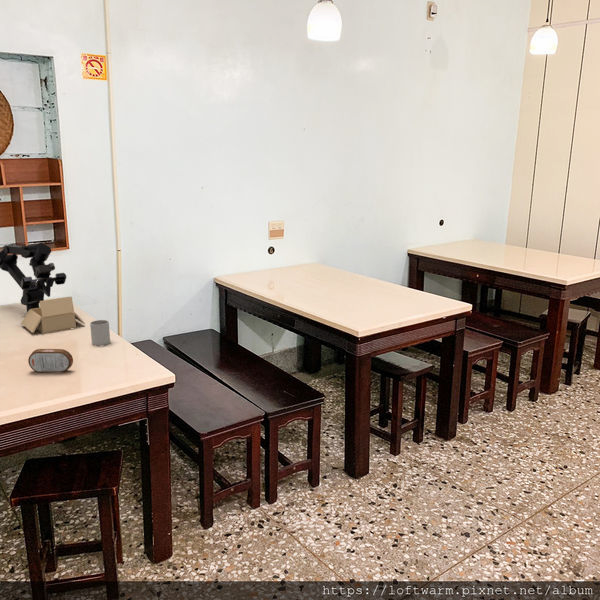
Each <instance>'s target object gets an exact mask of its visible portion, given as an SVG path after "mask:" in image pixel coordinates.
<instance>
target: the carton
mask: <svg viewBox="0 0 600 600" xmlns="http://www.w3.org/2000/svg"><path fill="white" fill-rule="evenodd" d="M76 320H77V321H78V322H80V323H81V324H84V325H85V324H86V323H85V322H84V320H83V319H82V318H81V317H80V316H79V315H78V314H77V313H76V312H75V311H74V312H72V313H66V314H60V315H53V316H47V317H42V313H41V307H40V308H34V309H30V310H29V311H28V312H27V311H26V316H25V315H24V317H23V319H22V320H21V325H23V327H25V328H26V329H27V330H29V331H30V333H33V334H34V333H35V331H36V330H38V331H39V332H40V333H42V334H43V335H46V334H49V333H50V334H51V333H56V331H57V332H62V331H61V330H63V331H67V329H69V330H72V329H71V328H74V329H77V324H76ZM36 328H37V329H36Z"/></svg>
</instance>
